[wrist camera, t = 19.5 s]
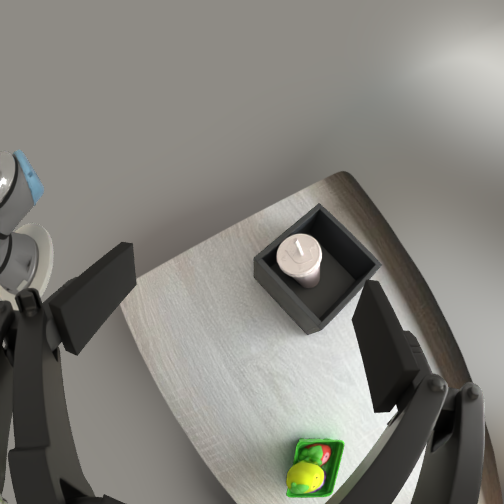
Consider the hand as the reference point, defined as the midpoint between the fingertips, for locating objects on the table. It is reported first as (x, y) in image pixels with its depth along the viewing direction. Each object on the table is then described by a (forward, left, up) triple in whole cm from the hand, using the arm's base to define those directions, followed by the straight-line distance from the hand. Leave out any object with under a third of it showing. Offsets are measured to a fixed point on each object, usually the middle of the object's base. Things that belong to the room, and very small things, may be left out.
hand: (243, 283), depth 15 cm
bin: (0, +13, -32) cm, 34 cm away
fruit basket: (+24, -9, -32) cm, 41 cm away
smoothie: (0, +13, -30) cm, 33 cm away
